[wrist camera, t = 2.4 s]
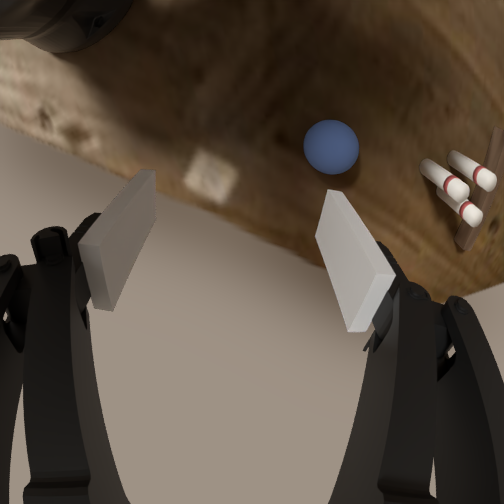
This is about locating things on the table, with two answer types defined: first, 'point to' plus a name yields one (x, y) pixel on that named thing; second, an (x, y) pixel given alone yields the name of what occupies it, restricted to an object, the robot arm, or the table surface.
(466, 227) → the back wall
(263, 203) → the table surface
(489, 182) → the pin
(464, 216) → the pin
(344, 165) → the ball
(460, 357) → the robot arm
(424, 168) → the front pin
